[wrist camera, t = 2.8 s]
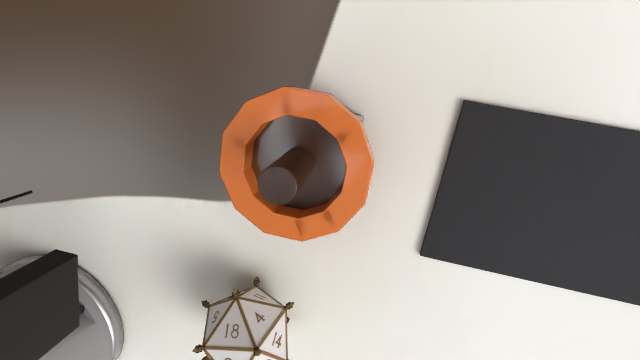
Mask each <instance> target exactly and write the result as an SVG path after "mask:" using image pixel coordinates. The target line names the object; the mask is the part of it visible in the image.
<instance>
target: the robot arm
mask: <svg viewBox="0 0 640 360" xmlns="http://www.w3.org/2000/svg"><path fill="white" fill-rule="evenodd" d="M31 193H33V192H32V190H30V191H27V192H24V193H21V194H18V195H15V196H12V197H8V198H5V199H2V200H0V203H4V202H7V201H10V200H13V199H16V198H19V197H22V196H25V195H28V194H31ZM123 339H124V334H123V325H122V321H121V318H120V315H119V312H118V310H117V308H116V306H115V304H114V302H113V300H112V299H111V297H110V296H109V294H108V293H107V292H106V291H105V289H104V288H103V287H102V286H101V285H100V284H99V283H98V282H97V281H96V280H95V279H94V278H93V277H92V276H90V275H89V274H88V273H86V272H85V271H84V270H82V269H81V268H79V267H78V256H77V255H76V254H72V253H68V252H64V251H60V250H56V249H55V250H54V251H52V252H50V253H48V254H46V255H44V256H30V257H25V258H23V259H20V260H18V261H16V262H14V263H12V264H10V265H8V266H6V267H4V268H2V269H0V360H117V358H118V357H119V355H120V353H121V350H122V346H123Z"/></svg>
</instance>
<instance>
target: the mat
mask: <svg viewBox="0 0 640 360" xmlns="http://www.w3.org/2000/svg"><path fill="white" fill-rule="evenodd" d="M420 256H424V257H428V258H432V259H437V260H441V261H446V262H450V263H454V264H459V265H463V266H468V267H472V268H476V269H481V270H485V271H490V272H494V273H499V274H503V275H507V276H512V277H516V278H521V279H525V280H529V281H534V282H538V283H543V284H547V285H551V286H556V287H560V288H565V289H569V290H573V291H578V292H582V293H587V294H591V295H595V296H600V297H604V298H609V299H613V300H618V301H622V302H626V303H631V304H635V305H640V132H639V131H633V130H628V129H622V128H617V127H611V126H605V125H600V124H594V123H589V122H583V121H577V120H572V119H566V118H561V117H555V116H550V115H544V114H538V113H533V112H527V111H522V110H516V109H510V108H505V107H499V106H494V105H488V104H483V103H477V102H471V101H466V100H464V101H463V105H462V108H461V112H460V115H459V119H458V122H457V126H456V129H455V133H454V136H453V140H452V143H451V147H450V150H449V154H448V157H447V161H446V164H445V168H444V171H443V175H442V178H441V182H440V185H439V188H438V192H437V195H436V199H435V202H434V206H433V209H432V213H431V216H430V220H429V223H428V227H427V230H426V234H425V237H424V241H423V244H422V248H421V251H420Z"/></svg>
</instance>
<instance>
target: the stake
mask: <svg viewBox="0 0 640 360" xmlns="http://www.w3.org/2000/svg"><path fill="white" fill-rule="evenodd" d="M354 115H356V114H354ZM356 116H357V117H358V118H359V119H360V120H361V122H362V123H363V118H364V116H361V115H356ZM251 167H252V169H253V172H254V174H255V176H256V179H257V181H258V190H259V192H260V194H261V196H262V197H263V198H264V199H265V200H266V201H268V202H269V203H272V204H275V205H282V206H287V207H291V208H296V209H300V210H306V209H309V208H312V207H316V206H319V205H323V204H326V203H328V202H329V200H330V199H331V198H332V197H333V196H334V195H335V194H336V193H337V192H338V191H339V190H340V189H341V187H342V186H343V181H344V176H345V171H346V163H345V160H344V157H343V154H342V152H341V149H340V146H339V143H338V140H337V139H336V138H335V137H334V136H333V135H332V134H330V133H329V132H328V131H327V130H326V129H325V128H324V127H322V126H321V125H320V124H319V123H318V122H317V121H315V120H311V119H306V118H301V117H296V116H290V115H286V116H283V117H280V118H278V119H275V120H272V121H270V122H269V123H268V124H267V125H266V127H265V128H264V129H263V130H262V132H261V133H260V134H259V136H258V137H257V138H256V140H255V141H254V146H253V154H252V163H251Z"/></svg>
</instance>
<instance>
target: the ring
mask: <svg viewBox="0 0 640 360" xmlns="http://www.w3.org/2000/svg"><path fill="white" fill-rule="evenodd" d="M286 115H290V116H296V117H301V118H306V119H311V120H315V121H317V122H318V123H319V124H320V125H321V126H322V127H324V128H325V129H326V130H327V131H328V132H329V133H330V134H332V135H333V136H334V137H335V138H336V139H337V140H338V143H339V146H340V149H341V152H342V154H343V157H344V160H345V163H346V171H345V176H344V181H343V186H342V187H341V189H340V190H339V191H338V192H337V193H336V194H335V195H334V196H333V197H332V198H331V199H330V200H329V202H328V203H326V204H323V205H319V206H316V207H312V208H309V209H306V210H300V209H296V208H291V207H287V206H282V205H275V204H272V203H269V202H268V201H266V200H265V199H264V198H263V197H262V196H261V194H260V192H259V190H258V181H257V179H256V176H255V174H254V172H253V169H252V167H251V163H252V154H253V146H254V141H255V140H256V138H257V137H258V136H259V134H260V133H261V132H262V130H263V129H264V128H265V127H266V125H267V124H268V123H269V122H270V121H272V120H275V119H278V118H280V117H283V116H286ZM373 167H374V157H373V154H372V151H371V148H370V145H369V142H368V139H367V136H366V133H365V130H364V127H363V124H362V122H361V120H360V119H359V118H358V117H357V116H356V115H354V114H353V113H352V112H351V111H350V110H349V109H348V108H346V107H345V106H344V105H343V104H342V103H341V102H340V101H338V100H337V99H336V98H335V97H334V96H333V95H332V94H330V93H325V92H320V91H314V90H309V89H304V88H298V87H292V86H286V87H281V88H279V89H276V90H274V91H271V92H269V93H267V94H264V95H261V96H259V97H256V98H254V99H251V100H249V101H246V102H245V103H244V105H243V106H242V108H241V109H240V110H239V112H238V113H237V114H236V116H235V117H234V119H233V120H232V121H231V123H230V124H229V126H228V127H227V128H226V130H225V131H224V132H223V137H222V148H221V159H220V175H221V177H222V180H223V182H224V184H225V187H226V189H227V191H228V194H229V196H230V198H231V201H232V203H233V205H234V207H235V209H236V210H237V211H239V212H240V213H241V214H242V215H243V216H245V217H246V218H247V219H248V220H249V221H251V222H252V223H253V224H254V225H255V226H257V227H258V228H259V229H260V230H261V231H263V232H264V233H267V234H272V235H276V236H280V237H285V238H289V239H293V240H298V241H306V240H309V239H313V238H317V237H320V236H324V235H327V234H331V233H335V232H338V231H339V230H340V229H341V228H342V227H343V226H344V225H345V224H346V223H347V222H348V221H349V220H350V219H351V218H352V217H353V216H354V215H355V214H356V213H357V212H358V211H359V210H360V209H361V208H362V207H363V206H364V205H365V203H366V198H367V194H368V189H369V185H370V180H371V176H372V171H373Z"/></svg>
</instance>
